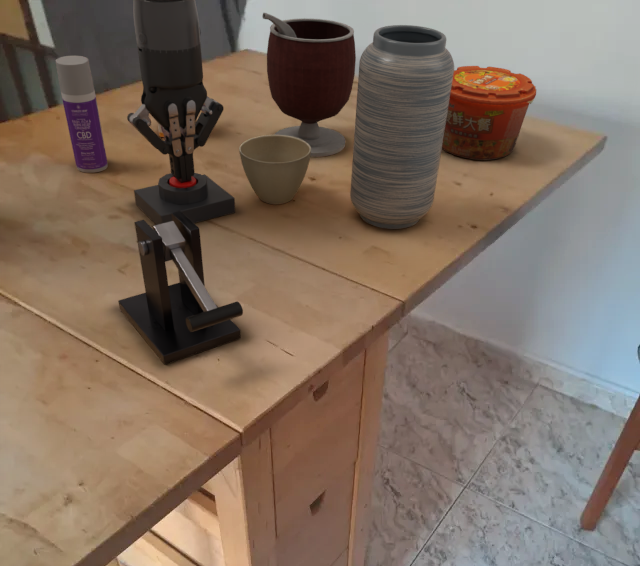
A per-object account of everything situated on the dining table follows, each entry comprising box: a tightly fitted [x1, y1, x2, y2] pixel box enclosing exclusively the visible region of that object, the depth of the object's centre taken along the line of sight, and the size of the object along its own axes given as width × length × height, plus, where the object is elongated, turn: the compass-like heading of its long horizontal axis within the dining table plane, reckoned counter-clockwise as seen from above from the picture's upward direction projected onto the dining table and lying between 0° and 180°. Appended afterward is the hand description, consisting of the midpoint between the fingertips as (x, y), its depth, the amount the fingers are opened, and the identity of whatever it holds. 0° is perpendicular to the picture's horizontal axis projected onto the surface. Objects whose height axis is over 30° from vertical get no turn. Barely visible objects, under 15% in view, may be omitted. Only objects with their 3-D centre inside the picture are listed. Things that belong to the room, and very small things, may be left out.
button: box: [169, 176, 196, 188], centre depth 94 cm, size 4×4×2 cm
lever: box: [152, 221, 244, 332], centre depth 68 cm, size 12×6×2 cm, turn 34°
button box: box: [133, 172, 236, 225], centre depth 95 cm, size 11×9×4 cm
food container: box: [442, 65, 537, 161], centre depth 114 cm, size 16×16×11 cm
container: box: [55, 55, 109, 174], centre depth 101 cm, size 5×5×15 cm
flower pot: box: [238, 134, 311, 205], centre depth 98 cm, size 10×10×7 cm
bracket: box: [117, 211, 242, 365], centre depth 72 cm, size 12×9×12 cm
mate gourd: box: [262, 12, 357, 158], centre depth 109 cm, size 16×14×20 cm
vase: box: [349, 24, 455, 230], centre depth 90 cm, size 12×12×23 cm
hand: (183, 179), depth 94 cm, fingers closed
